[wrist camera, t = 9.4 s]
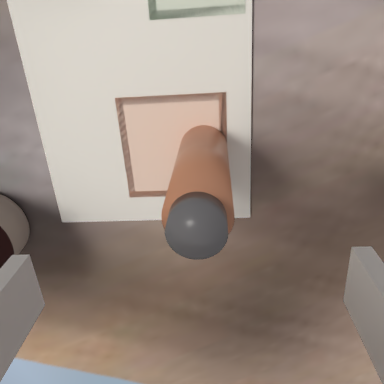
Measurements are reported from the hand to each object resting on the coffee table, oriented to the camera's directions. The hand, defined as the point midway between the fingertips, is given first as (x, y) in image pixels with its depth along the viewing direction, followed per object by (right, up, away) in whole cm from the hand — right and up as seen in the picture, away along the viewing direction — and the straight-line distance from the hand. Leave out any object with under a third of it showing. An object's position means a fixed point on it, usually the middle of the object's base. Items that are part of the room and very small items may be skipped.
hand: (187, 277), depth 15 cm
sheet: (-4, +13, +14) cm, 19 cm away
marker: (+1, +7, +16) cm, 17 cm away
